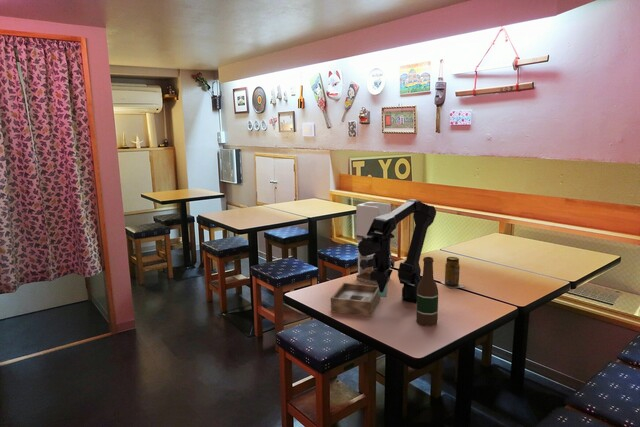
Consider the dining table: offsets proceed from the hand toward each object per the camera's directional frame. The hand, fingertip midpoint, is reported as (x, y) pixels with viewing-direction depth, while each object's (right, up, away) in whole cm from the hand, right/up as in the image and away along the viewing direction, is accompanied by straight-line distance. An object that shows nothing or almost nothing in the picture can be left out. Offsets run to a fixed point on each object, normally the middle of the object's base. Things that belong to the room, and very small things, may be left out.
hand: (382, 290), depth 169 cm
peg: (0, -2, 0) cm, 2 cm away
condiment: (+35, -2, +28) cm, 45 cm away
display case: (+1, -1, +38) cm, 38 cm away
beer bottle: (+15, -10, -8) cm, 20 cm away
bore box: (-9, -7, +8) cm, 14 cm away
